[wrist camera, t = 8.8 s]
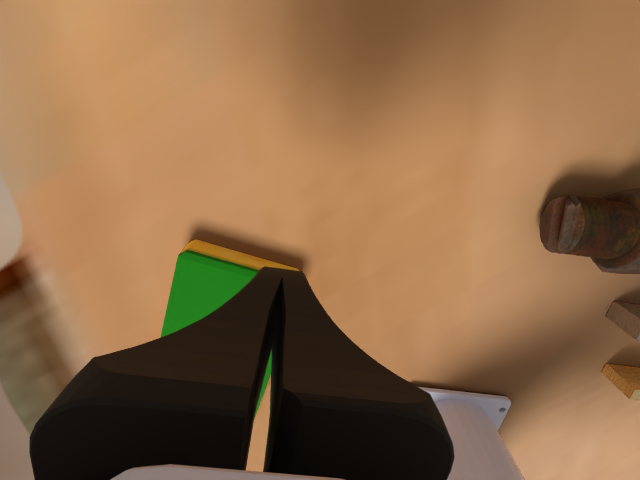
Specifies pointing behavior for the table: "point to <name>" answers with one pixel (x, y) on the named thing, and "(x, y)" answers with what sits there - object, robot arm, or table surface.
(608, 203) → the bolt
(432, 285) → the table surface
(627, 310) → the grey u-shaped bracket
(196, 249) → the dish sponge
